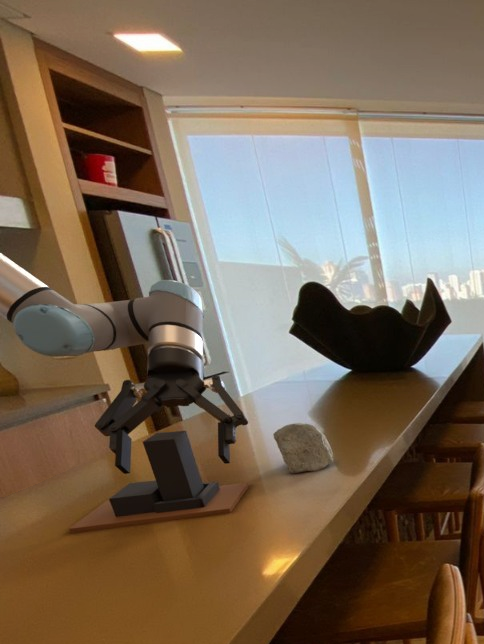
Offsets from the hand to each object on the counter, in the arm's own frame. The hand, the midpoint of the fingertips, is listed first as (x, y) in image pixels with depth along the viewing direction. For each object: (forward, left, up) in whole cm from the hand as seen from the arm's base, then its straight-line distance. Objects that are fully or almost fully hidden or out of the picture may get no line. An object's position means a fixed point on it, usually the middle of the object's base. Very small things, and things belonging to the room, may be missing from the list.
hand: (174, 464), depth 91 cm
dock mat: (-2, -2, -7) cm, 8 cm away
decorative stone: (+6, +22, -7) cm, 24 cm away
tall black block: (0, 0, -6) cm, 6 cm away
